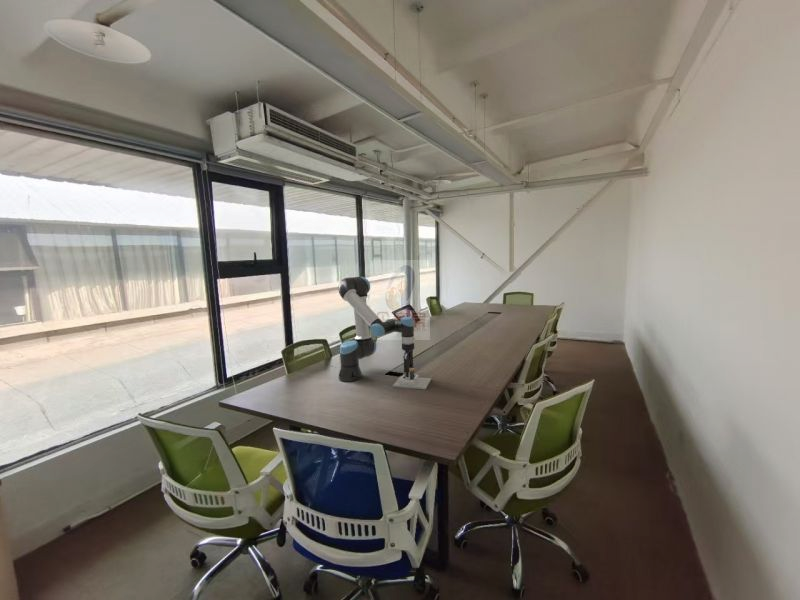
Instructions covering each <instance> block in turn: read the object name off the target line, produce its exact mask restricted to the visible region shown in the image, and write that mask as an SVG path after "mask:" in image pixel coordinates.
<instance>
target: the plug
mask: <svg viewBox="0 0 800 600" xmlns="http://www.w3.org/2000/svg"><path fill="white" fill-rule="evenodd" d="M409 371H410V379H413V378H414V374H415V367H414V368H409ZM403 372H404V371H403ZM403 374H404V376H405V372H404V373H403Z"/></svg>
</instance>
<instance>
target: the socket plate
mask: <svg viewBox="0 0 800 600" xmlns="http://www.w3.org/2000/svg"><path fill="white" fill-rule="evenodd" d="M431 382H432V378H431V377H419V374H417V373H414V378H413V379H405V376H404V373H403V374H402V375H400V376H399V377H398V378H397V380H396V381H395V382H394V383H393V384H392V388H403V389H416V390H427V388H428V387H429V385H430V383H431Z"/></svg>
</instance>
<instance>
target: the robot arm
mask: <svg viewBox="0 0 800 600" xmlns="http://www.w3.org/2000/svg"><path fill="white" fill-rule="evenodd" d="M337 289H338V293H339V296H340V297H341V298H342V300H343V301H344V302H347V303H348V304H349V305H350V306H351V307H352V308H353V314H354V315H353V316H354V323H355V333H356V336H355V337H354V340H346V341H344V342H342V343H341V344H340V346H339V360H340V368H339V373H338V380H339V381H340V382H344V383H350V382H356V381H359V380H361V379H362V378H363V373H362V369H361V367H360V360H361V359H364V358H367V357H370V356H372V355H374V354H375V352H376V350H377V343H376V341H375V339H374V338H373V337H375V338H377V337H378V338H379V337H382V336H386V335H389V334H393V333H400V334H401V335H400V336H401V350H403V351H404V353H403V354H404V355H403V372H405V379H410V371H409V368H414V369H415V366H414V349H415V339H416V338H415V334H414V331H415V329H414V327H415V322H414V318H413V317H411V316H403V317H401V318H400V319H394V318H387V319H386V320H385V321H383V320H382V319H381V318H380V317H379V316H378V315H377V314H376V313H375V312H374V311H373V309H371V308H370V306H369V305H368V304H367V298H368V296H369V295H368V293H369V292H370V290H371V283H370V281H369V280H368V279H367V278H366V277H365V276H355V277H345V278H343V279H341V280H340V282H339V283H338V288H337Z"/></svg>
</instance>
